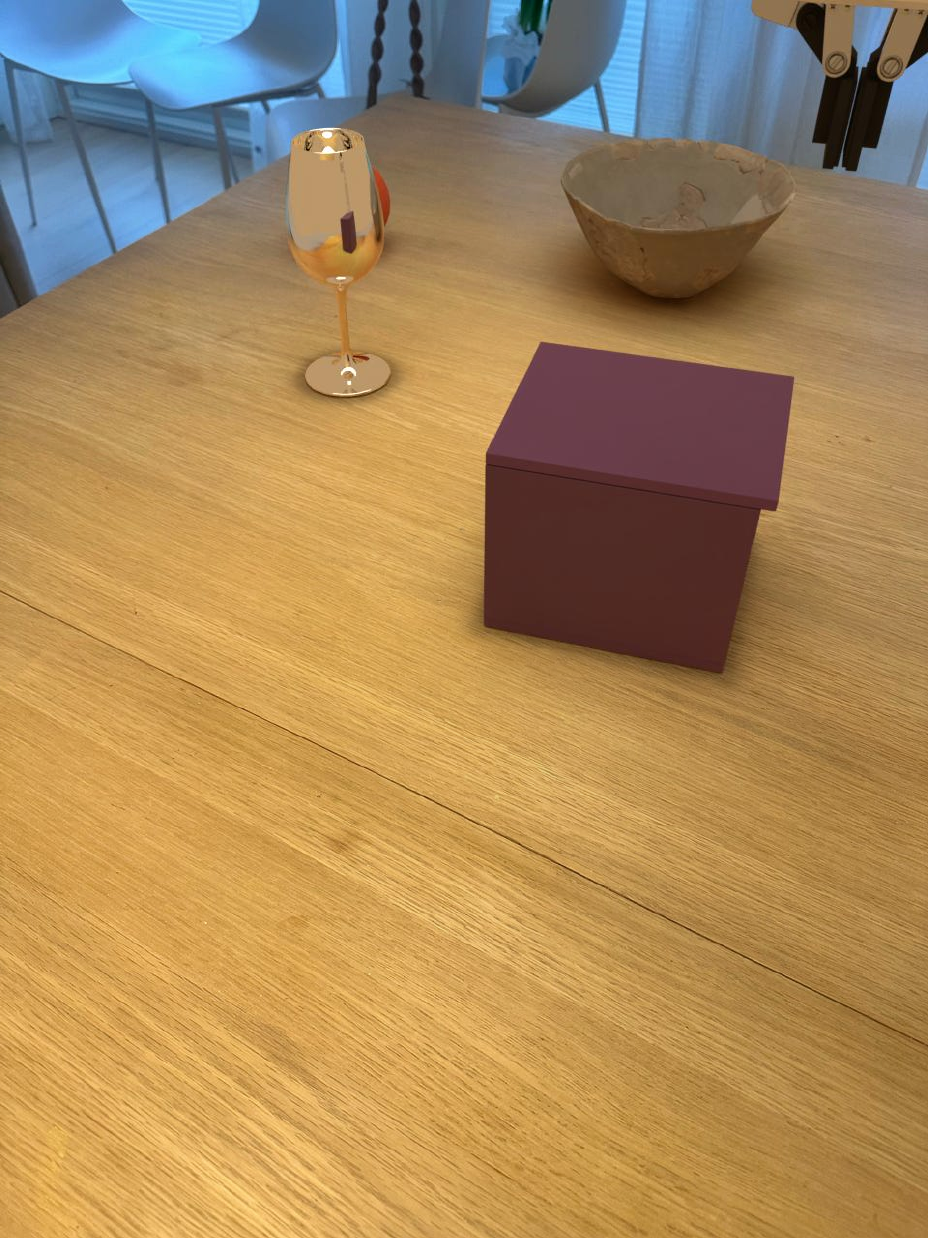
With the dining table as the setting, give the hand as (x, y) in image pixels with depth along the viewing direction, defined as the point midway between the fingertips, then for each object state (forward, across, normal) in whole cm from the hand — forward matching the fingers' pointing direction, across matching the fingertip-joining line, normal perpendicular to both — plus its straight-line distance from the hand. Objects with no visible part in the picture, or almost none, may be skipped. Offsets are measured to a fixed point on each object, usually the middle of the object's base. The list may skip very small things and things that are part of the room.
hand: (840, 159), depth 51 cm
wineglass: (+29, -36, +21) cm, 51 cm away
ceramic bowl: (+29, -12, +48) cm, 58 cm away
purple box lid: (+16, -8, 0) cm, 18 cm away
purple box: (+29, -8, 0) cm, 30 cm away
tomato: (+29, -46, +46) cm, 71 cm away
